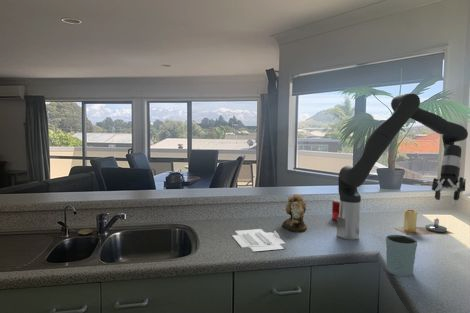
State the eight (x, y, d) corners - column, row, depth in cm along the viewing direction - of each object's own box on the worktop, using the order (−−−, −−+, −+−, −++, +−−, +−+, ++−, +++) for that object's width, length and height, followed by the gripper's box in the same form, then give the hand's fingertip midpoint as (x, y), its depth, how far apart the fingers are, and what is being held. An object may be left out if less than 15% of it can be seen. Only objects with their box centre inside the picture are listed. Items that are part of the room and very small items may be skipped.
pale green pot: (384, 274, 120) (386, 241, 119) (383, 263, 130) (385, 232, 128) (417, 279, 117) (419, 245, 115) (413, 267, 126) (415, 236, 125)
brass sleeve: (410, 233, 162) (411, 212, 161) (401, 229, 167) (402, 209, 166) (418, 231, 164) (419, 211, 163) (408, 228, 169) (410, 208, 168)
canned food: (341, 222, 184) (342, 202, 183) (329, 219, 190) (329, 199, 189) (349, 220, 189) (350, 200, 188) (336, 216, 195) (337, 198, 194)
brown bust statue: (278, 222, 183) (278, 190, 181) (299, 221, 184) (300, 190, 183) (288, 232, 165) (289, 198, 163) (311, 232, 167) (312, 197, 165)
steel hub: (437, 233, 162) (438, 221, 161) (421, 228, 170) (421, 216, 169) (450, 231, 165) (451, 219, 164) (433, 226, 173) (434, 215, 173)
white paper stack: (246, 254, 138) (246, 245, 138) (227, 235, 165) (227, 227, 165) (292, 250, 144) (292, 241, 144) (267, 232, 171) (267, 225, 171)
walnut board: (406, 237, 160) (407, 227, 159) (393, 230, 171) (393, 220, 170) (453, 236, 163) (454, 226, 162) (437, 229, 174) (437, 219, 173)
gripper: (431, 165, 166) (426, 197, 163) (461, 163, 154) (456, 197, 150) (441, 170, 169) (436, 201, 166) (471, 168, 156) (467, 202, 153)
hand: (446, 199), depth 158 cm, fingers open, 8 cm apart
